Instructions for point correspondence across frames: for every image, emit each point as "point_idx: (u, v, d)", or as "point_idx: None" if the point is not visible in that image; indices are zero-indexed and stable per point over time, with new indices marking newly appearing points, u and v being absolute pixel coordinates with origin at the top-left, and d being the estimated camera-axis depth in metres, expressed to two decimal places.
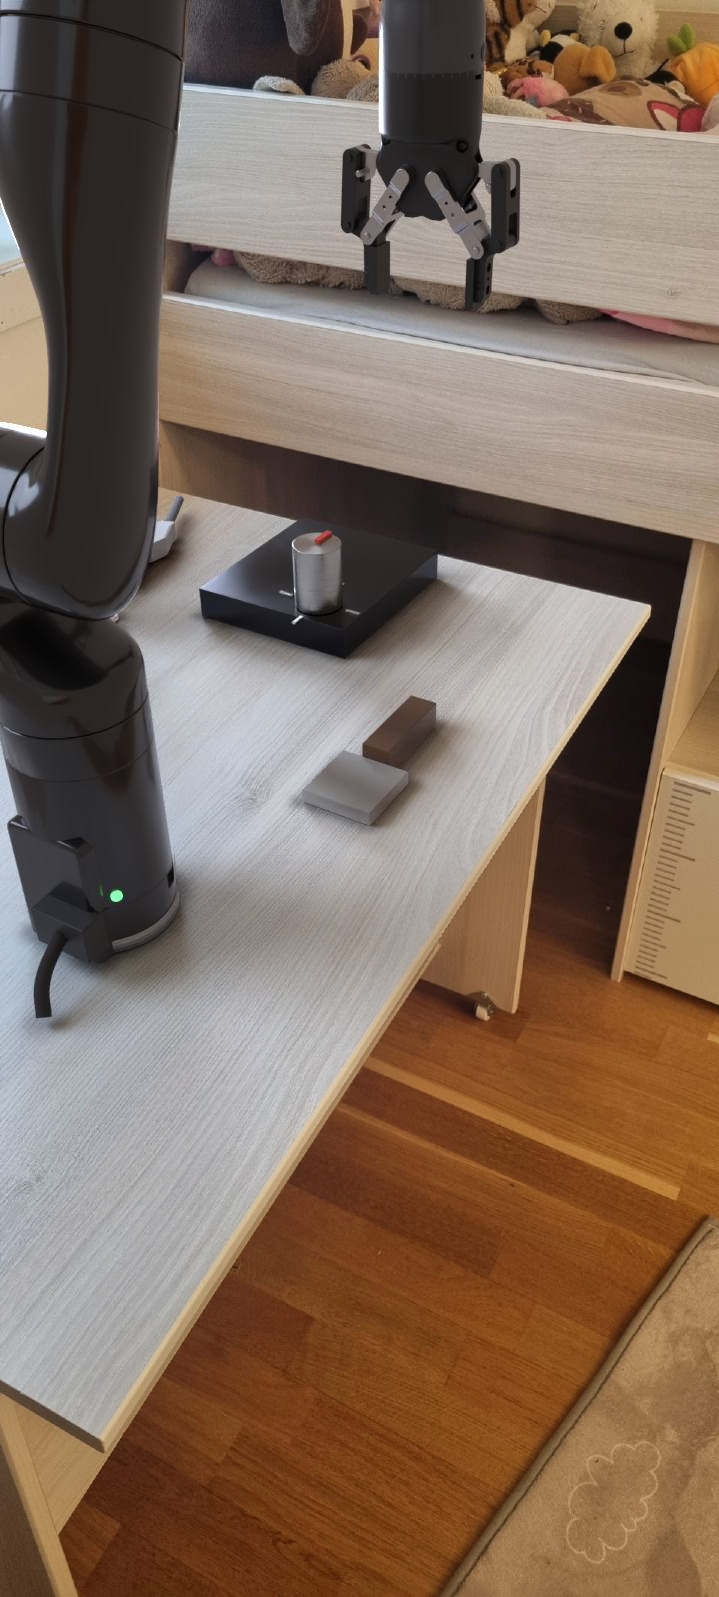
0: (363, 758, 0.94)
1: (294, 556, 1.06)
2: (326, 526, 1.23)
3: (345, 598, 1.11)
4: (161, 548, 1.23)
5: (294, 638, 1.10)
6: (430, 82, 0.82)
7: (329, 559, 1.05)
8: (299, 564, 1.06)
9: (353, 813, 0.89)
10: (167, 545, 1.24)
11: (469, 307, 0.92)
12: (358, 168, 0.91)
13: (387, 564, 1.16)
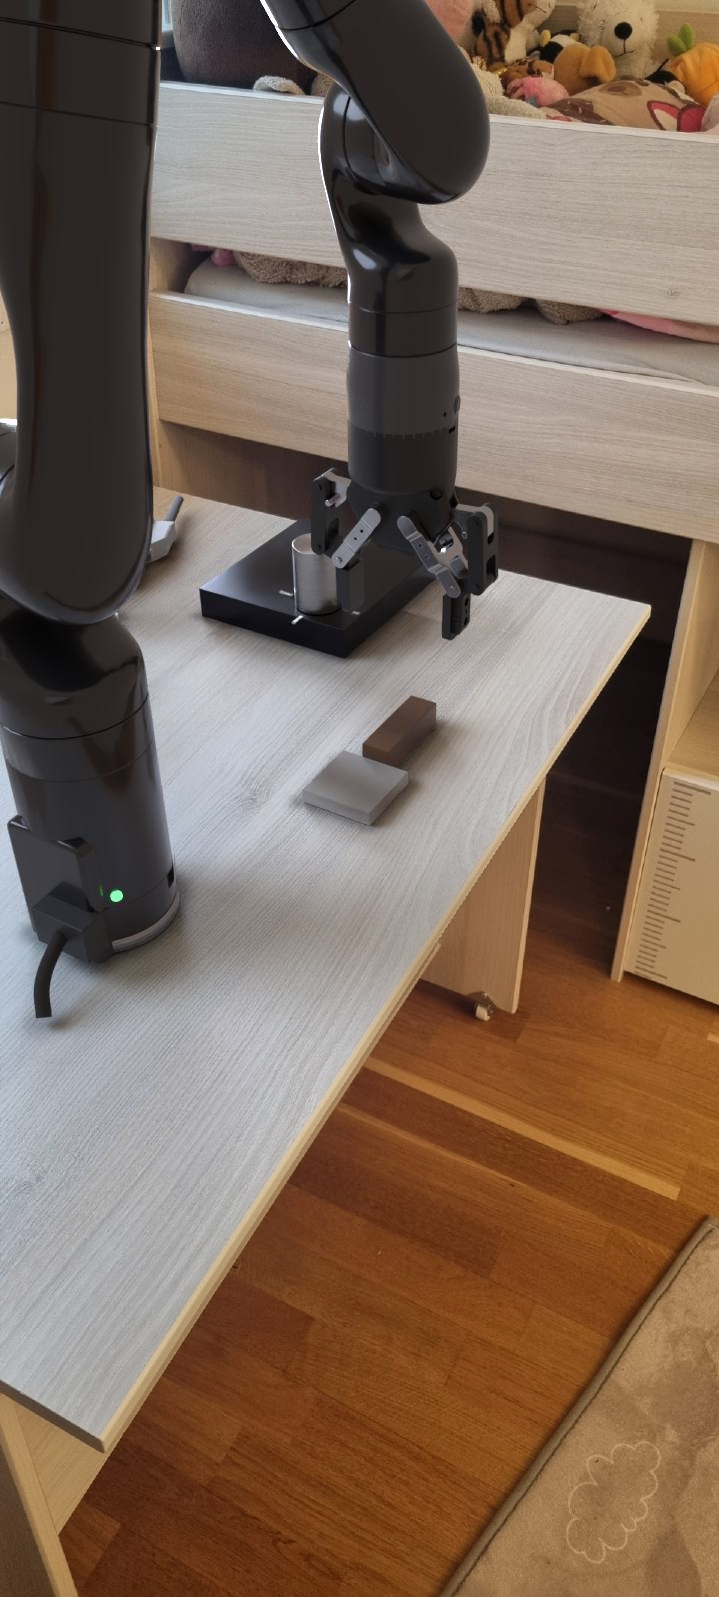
0: (363, 758, 0.94)
1: (294, 556, 1.06)
2: None
3: None
4: (161, 548, 1.23)
5: (294, 638, 1.10)
6: (400, 442, 0.78)
7: (329, 559, 1.05)
8: (299, 564, 1.06)
9: (353, 813, 0.89)
10: (167, 545, 1.24)
11: (446, 638, 0.87)
12: (328, 497, 0.86)
13: (387, 564, 1.16)
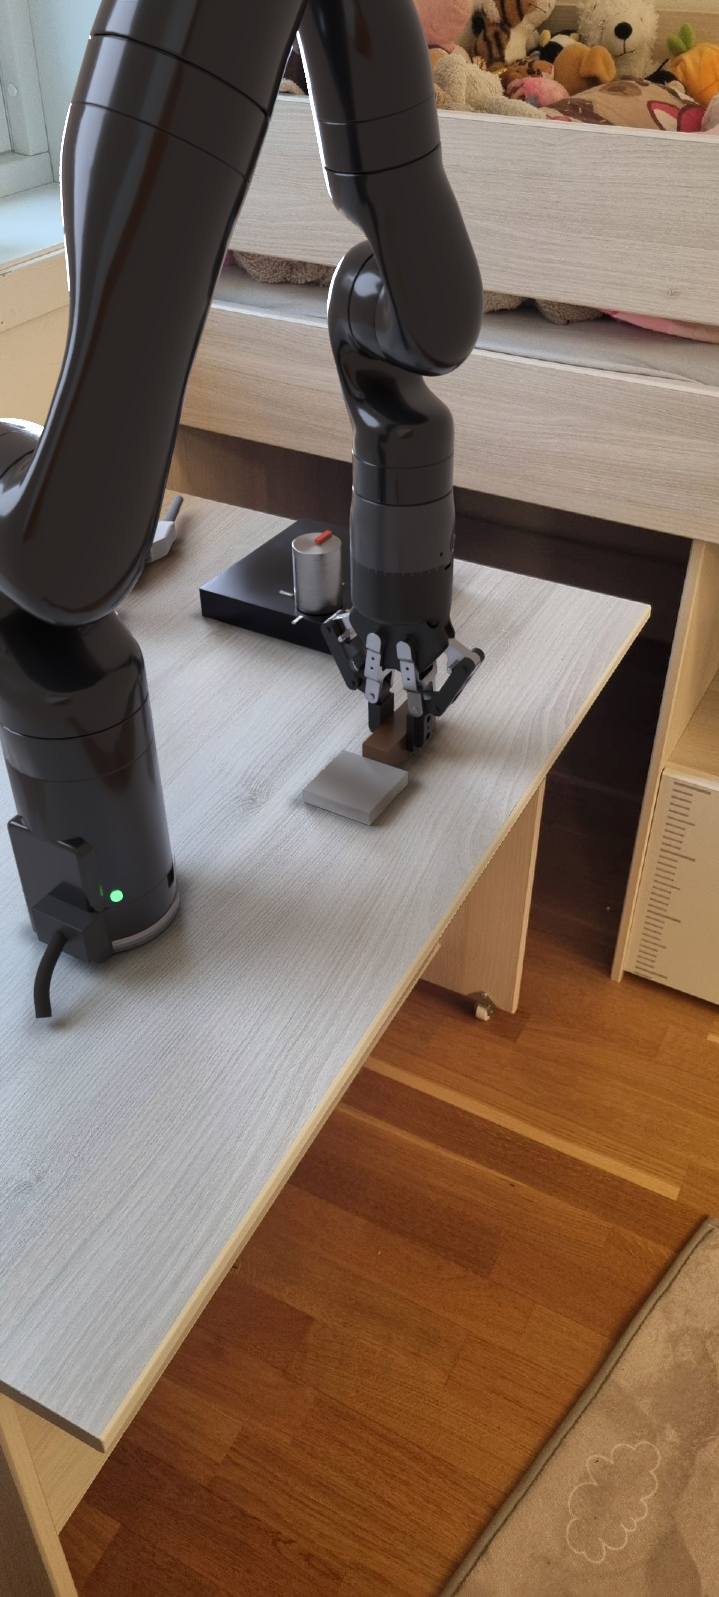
0: (363, 758, 0.94)
1: (294, 556, 1.06)
2: (326, 526, 1.23)
3: (345, 598, 1.11)
4: (161, 548, 1.23)
5: (294, 638, 1.10)
6: (400, 580, 0.84)
7: (329, 559, 1.05)
8: (299, 564, 1.06)
9: (353, 813, 0.89)
10: (167, 545, 1.24)
11: (410, 751, 0.95)
12: (339, 634, 0.93)
13: None
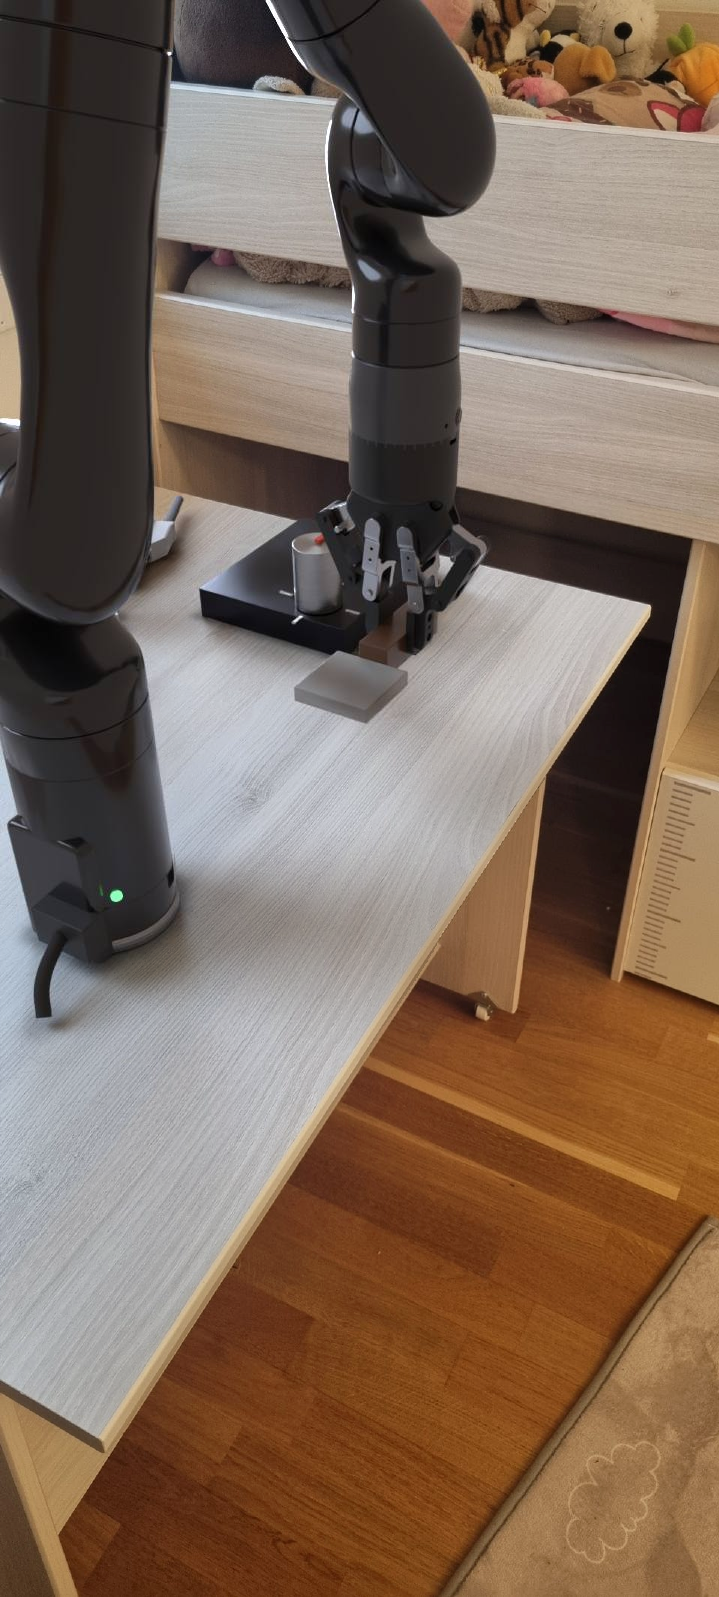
0: (360, 658, 0.88)
1: (294, 556, 1.06)
2: None
3: (345, 598, 1.11)
4: (161, 548, 1.23)
5: (294, 638, 1.10)
6: (401, 453, 0.78)
7: (329, 559, 1.05)
8: (299, 564, 1.06)
9: (348, 710, 0.83)
10: (167, 545, 1.24)
11: (410, 653, 0.89)
12: (336, 525, 0.87)
13: None
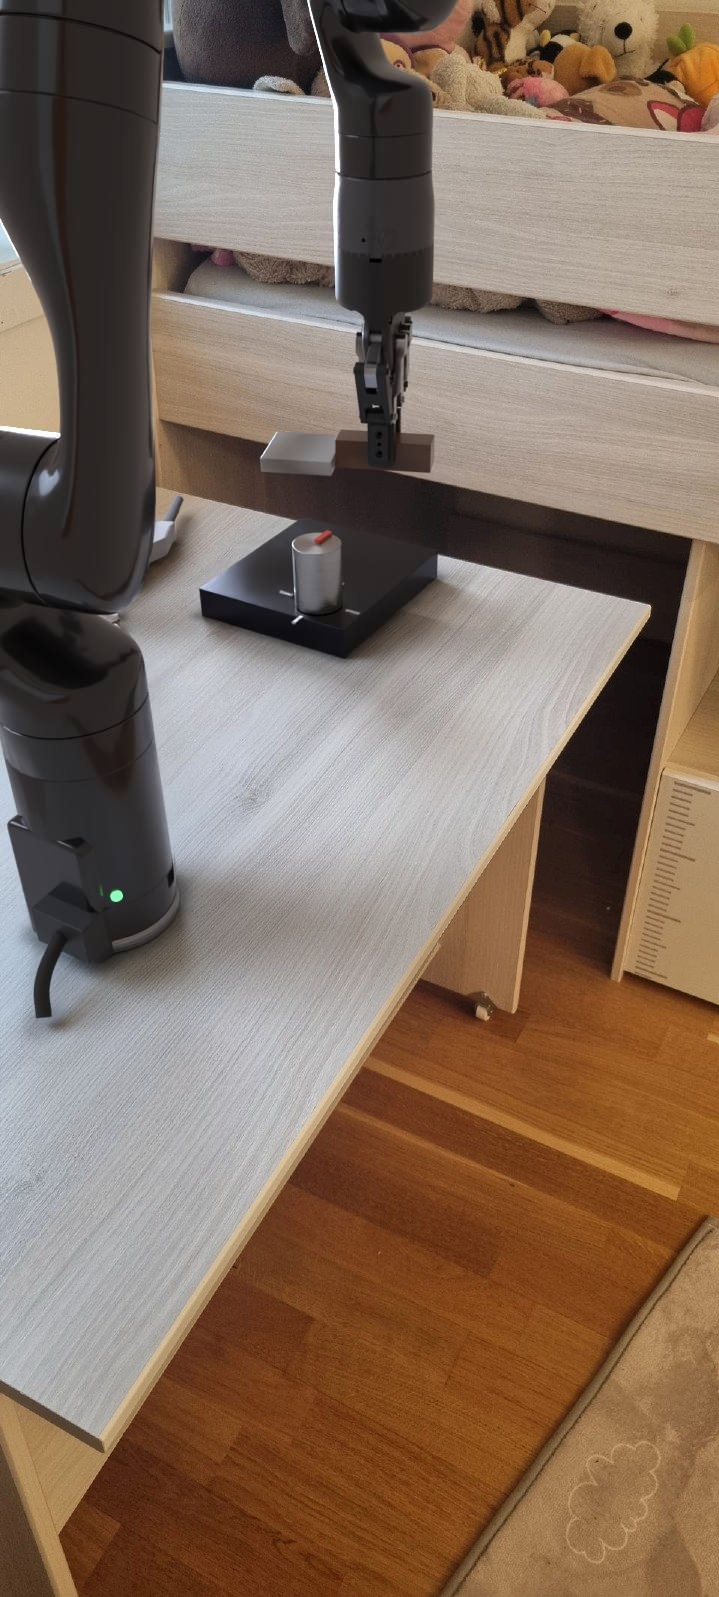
0: None
1: (294, 556, 1.06)
2: (326, 526, 1.23)
3: (345, 598, 1.11)
4: (161, 548, 1.23)
5: (294, 638, 1.10)
6: (336, 253, 0.89)
7: (329, 559, 1.05)
8: (299, 564, 1.06)
9: None
10: (167, 545, 1.24)
11: None
12: None
13: (387, 564, 1.16)
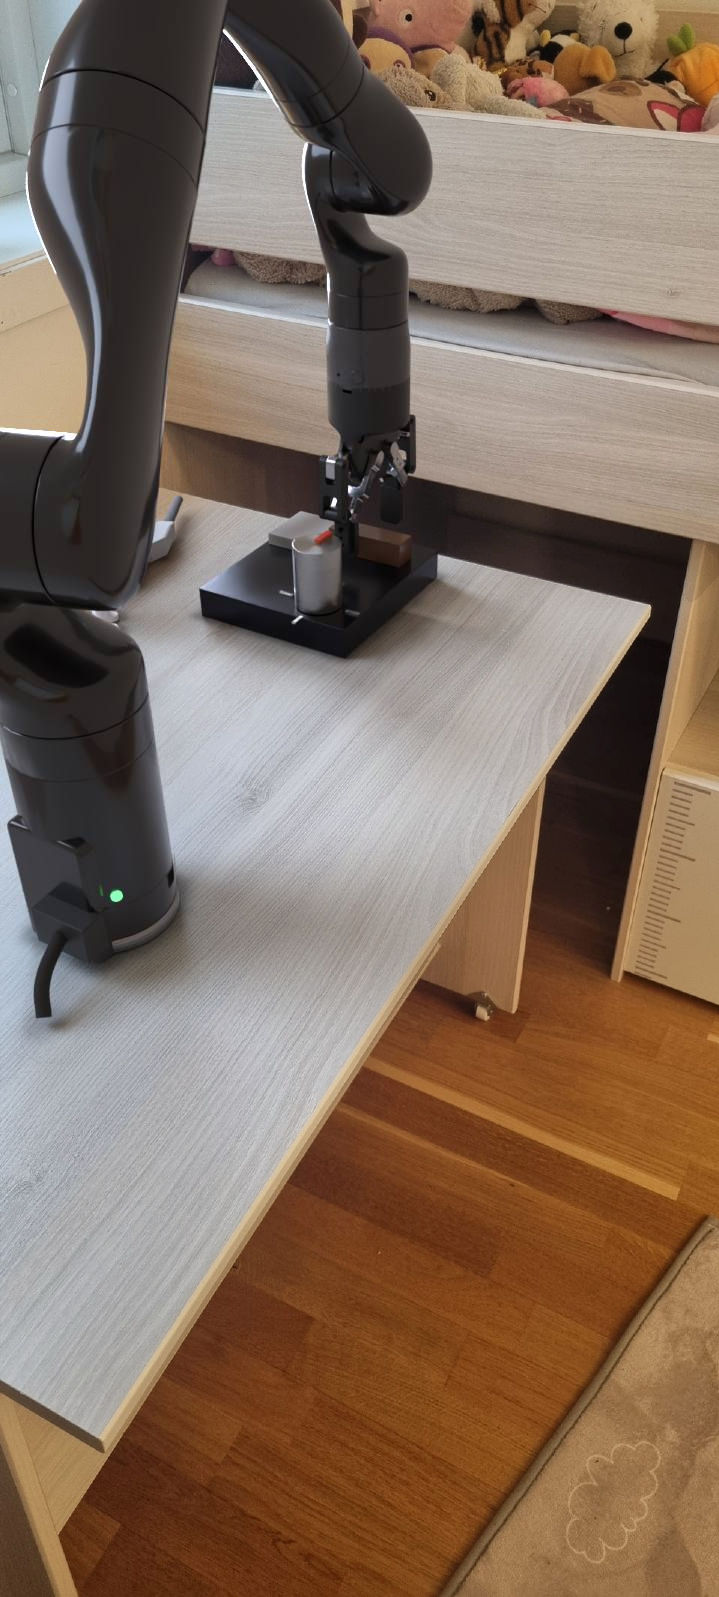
0: None
1: (294, 556, 1.06)
2: None
3: (345, 598, 1.11)
4: (161, 548, 1.23)
5: (294, 638, 1.10)
6: None
7: (329, 559, 1.05)
8: (299, 564, 1.06)
9: None
10: (167, 545, 1.24)
11: None
12: None
13: None
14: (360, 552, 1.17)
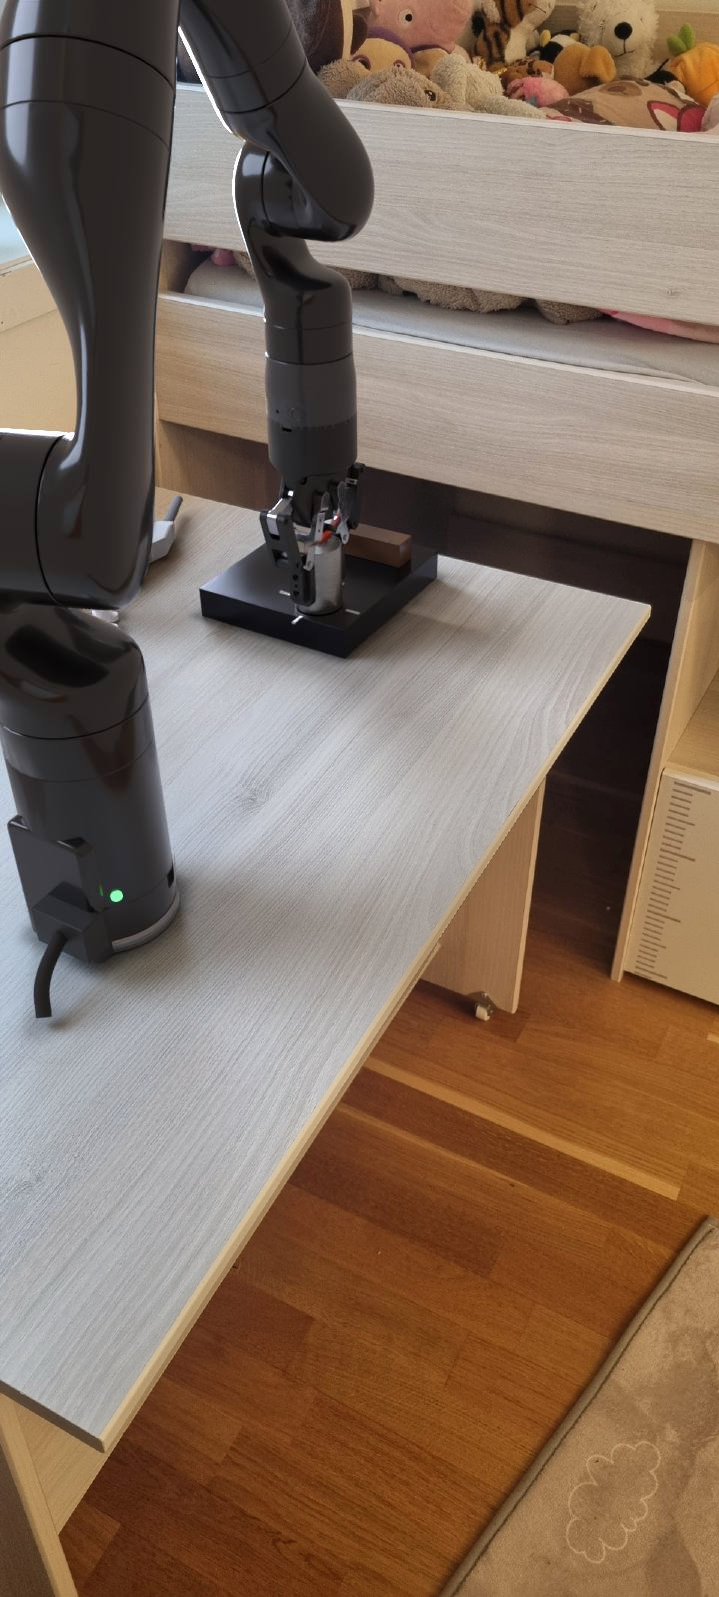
0: None
1: None
2: None
3: (345, 598, 1.11)
4: (161, 548, 1.23)
5: (294, 638, 1.10)
6: None
7: (329, 559, 1.05)
8: None
9: None
10: (167, 545, 1.24)
11: None
12: None
13: None
14: (360, 552, 1.17)
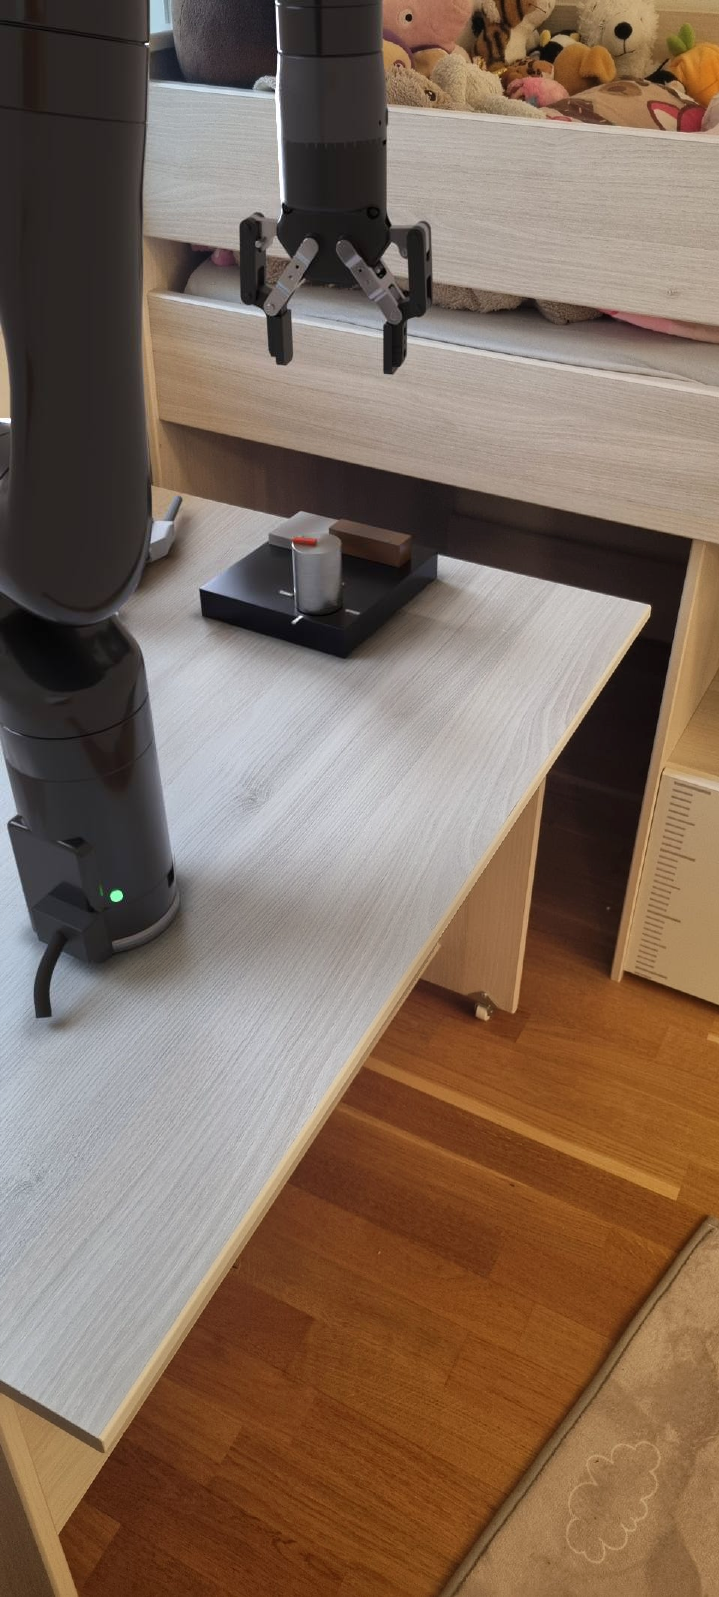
0: None
1: (333, 559, 1.05)
2: None
3: (345, 598, 1.11)
4: (161, 548, 1.23)
5: (294, 638, 1.10)
6: (342, 151, 0.80)
7: None
8: (338, 561, 1.06)
9: None
10: (166, 545, 1.24)
11: (388, 372, 0.90)
12: (257, 238, 0.87)
13: None
14: (360, 552, 1.17)
